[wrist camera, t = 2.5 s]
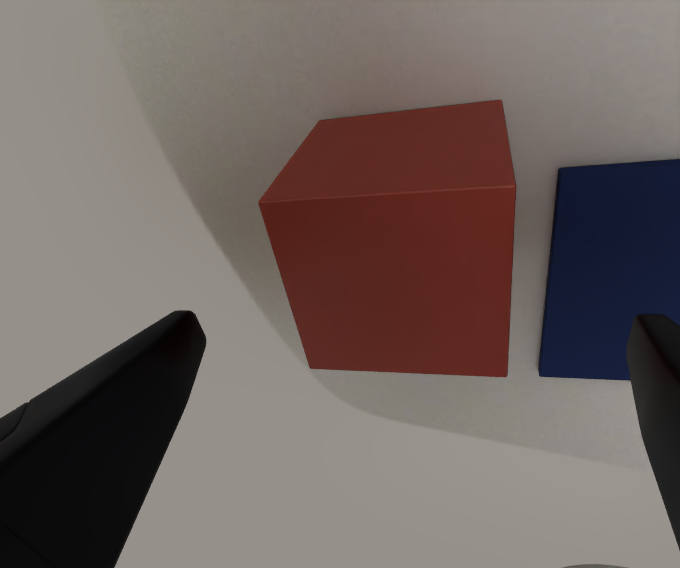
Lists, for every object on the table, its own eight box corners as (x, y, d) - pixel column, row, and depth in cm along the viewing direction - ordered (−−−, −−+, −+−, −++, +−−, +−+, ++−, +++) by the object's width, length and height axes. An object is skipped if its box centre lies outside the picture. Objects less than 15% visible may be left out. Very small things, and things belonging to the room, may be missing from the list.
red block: (498, 259, 15) (507, 377, 11) (347, 262, 16) (309, 369, 12) (502, 98, 12) (516, 184, 8) (318, 120, 13) (256, 201, 10)
